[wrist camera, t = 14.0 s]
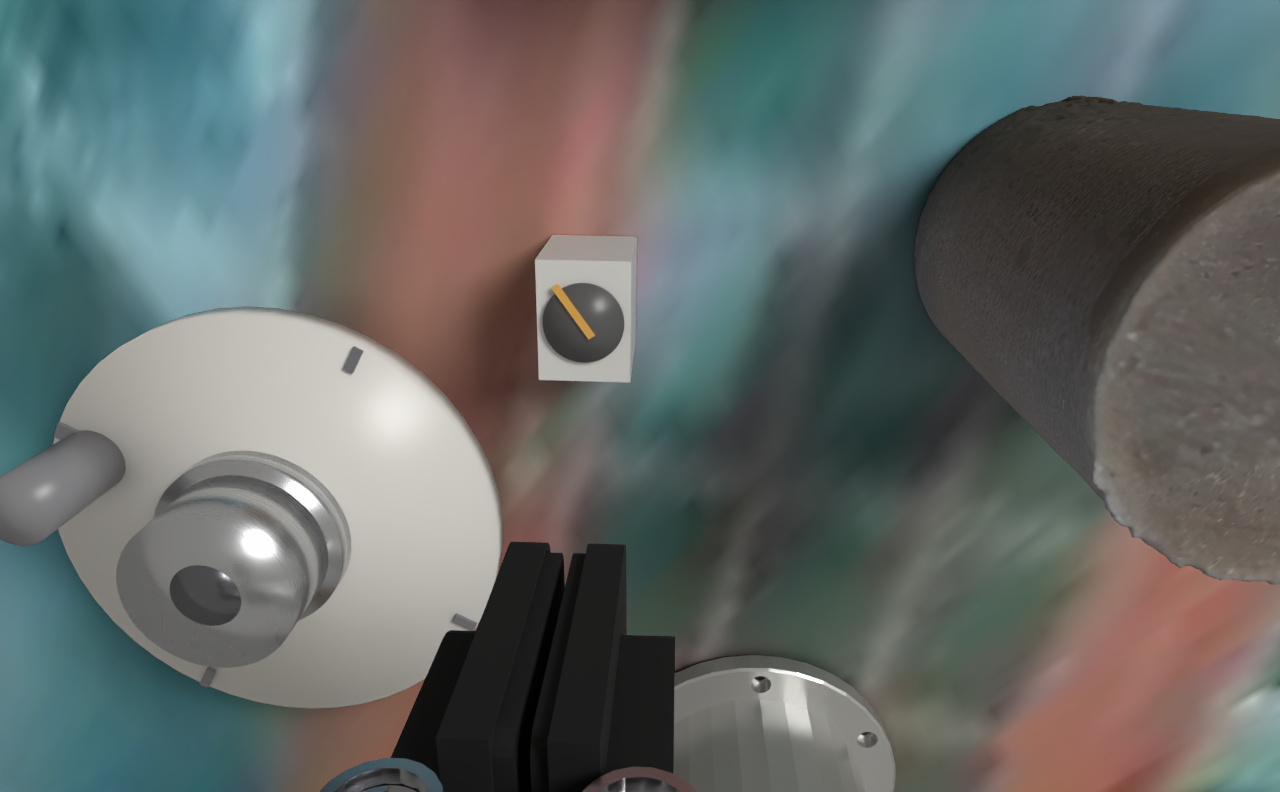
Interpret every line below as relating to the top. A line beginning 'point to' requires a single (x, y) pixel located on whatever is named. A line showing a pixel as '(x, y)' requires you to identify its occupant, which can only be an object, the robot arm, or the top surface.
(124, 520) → the white disc with knobs
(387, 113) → the top surface
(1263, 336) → the pillar candle
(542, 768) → the robot arm
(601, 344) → the dial gauge
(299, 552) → the door knob
